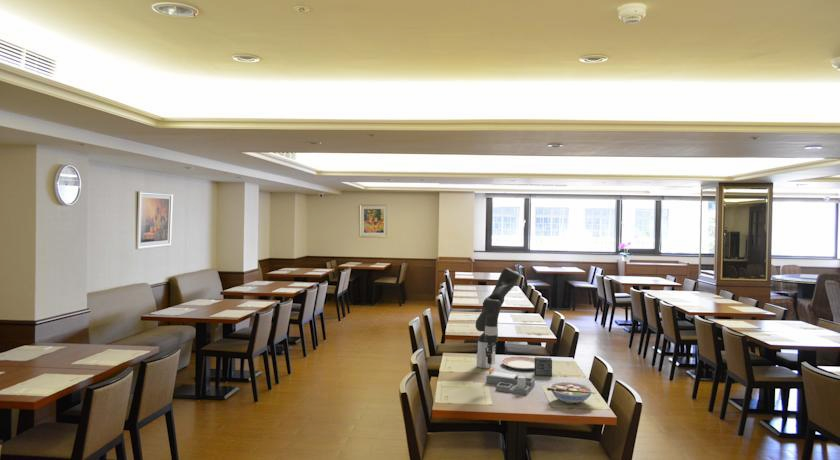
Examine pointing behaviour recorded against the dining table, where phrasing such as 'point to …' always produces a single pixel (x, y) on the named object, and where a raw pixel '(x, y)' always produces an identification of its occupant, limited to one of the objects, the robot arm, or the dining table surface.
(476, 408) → the dining table surface
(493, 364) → the white jaw block
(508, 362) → the dinner plate
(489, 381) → the housing
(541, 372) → the small box
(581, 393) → the ramen bowl
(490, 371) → the lid
